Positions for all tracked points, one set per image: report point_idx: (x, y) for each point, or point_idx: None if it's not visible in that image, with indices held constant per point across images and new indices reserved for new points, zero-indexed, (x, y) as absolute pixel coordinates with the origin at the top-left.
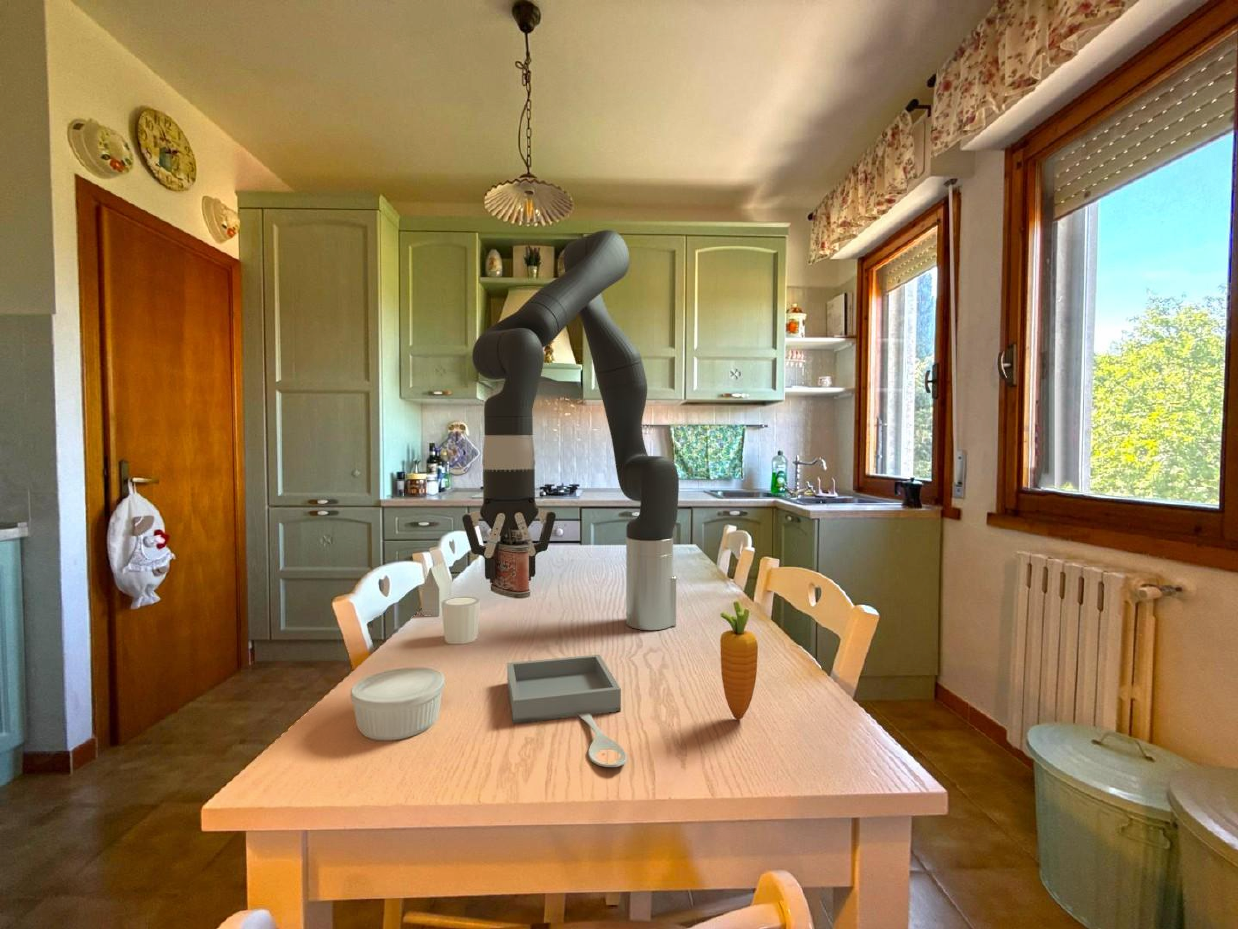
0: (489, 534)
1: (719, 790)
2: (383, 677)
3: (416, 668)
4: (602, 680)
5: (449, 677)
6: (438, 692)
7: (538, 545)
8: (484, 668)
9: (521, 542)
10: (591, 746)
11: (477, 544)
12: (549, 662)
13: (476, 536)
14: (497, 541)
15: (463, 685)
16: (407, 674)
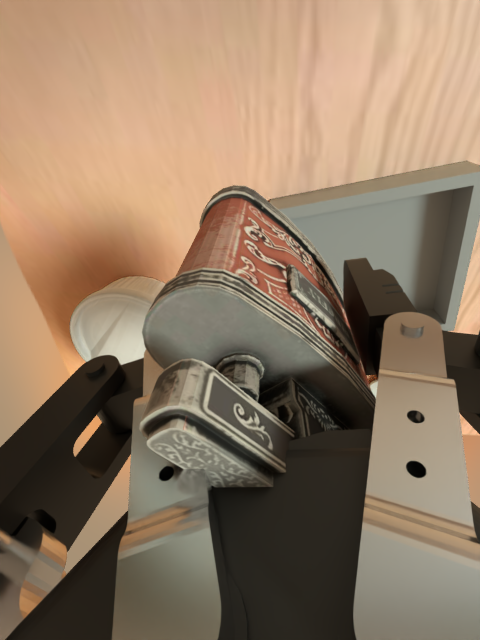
0: (133, 411)
1: (462, 429)
2: (90, 312)
3: (126, 299)
4: (449, 244)
5: (151, 162)
6: None
7: (461, 406)
8: (209, 109)
9: (361, 401)
10: (373, 383)
11: (127, 449)
12: (359, 204)
13: (74, 437)
14: (197, 359)
15: (191, 204)
16: (126, 322)
